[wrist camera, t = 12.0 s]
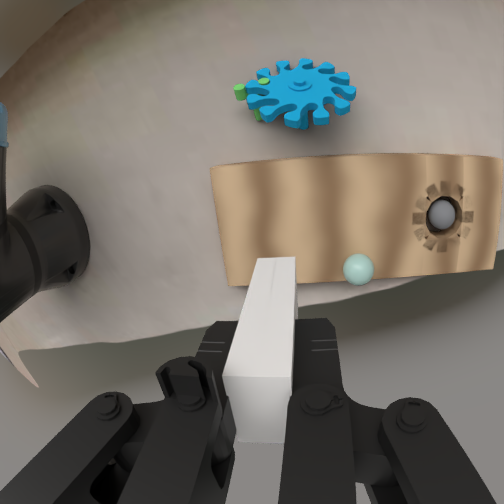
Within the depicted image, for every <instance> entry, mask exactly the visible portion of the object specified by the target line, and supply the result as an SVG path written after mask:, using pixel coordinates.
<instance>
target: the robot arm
mask: <svg viewBox="0 0 504 504" xmlns="http://www.w3.org/2000/svg"><path fill="white" fill-rule="evenodd" d="M7 123H8V113H7V109H6V107H5V106H4V105H3V104H2V103H1V102H0V322H1V321H3V320H4V319H5V318H6V317H7V316H9V315H10V314H11V313H12V312H13V311H15V310H16V309H17V308H18V307H20V306H21V305H22V304H23V303H24V302H26V301H27V300H28V299H29V298H31V297H32V296H33V295H35V294H36V293H37V292H41V291H45V290H49V289H54V288H58V287H62V286H65V285H68V284H70V283H71V282H72V281H74V280H75V279H76V278H78V277H79V276H80V275H81V274H82V273H83V271H84V270H85V268H86V266H87V263H88V259H89V237H88V232H87V228H86V225H85V222H84V219H83V217H82V214H81V213H80V211H79V209H78V207H77V206H76V204H75V203H74V201H73V200H72V199H71V198H70V197H69V196H68V195H67V194H66V193H65V192H64V191H62V190H61V189H59V188H57V187H54V186H50V185H44V186H40V187H37V188H34V189H31V190H29V191H28V192H26V193H25V194H24V195H22V196H21V197H20V198H19V199H18V200H17V201H16V202H15V203H14V204H13V205H12V206H11V207H10V208H9V209H8V210H6V149H7V148H8V142H7ZM156 376H157V378H158V381H159V384H160V386H161V389H162V391H163V394H164V396H165V399H164V400H162V401H158V402H152V403H141V404H132V401H131V399H130V398H129V397H128V396H127V395H125V394H124V393H120V392H106V393H103V394H101V395H98V396H97V397H95V398H94V399H93V400H92V401H90V402H89V403H88V404H87V405H86V406H85V407H84V408H83V409H82V410H81V411H80V412H79V413H78V414H77V415H76V416H75V417H74V418H73V419H72V420H71V421H70V422H69V423H68V424H67V425H66V426H65V427H64V428H63V429H62V430H61V431H60V432H59V433H58V434H57V435H56V436H55V437H54V438H53V439H52V440H51V441H50V442H49V443H48V444H47V445H46V446H45V447H44V448H43V449H42V450H41V451H40V452H39V453H38V454H37V455H36V456H35V457H34V458H33V459H32V460H31V461H30V462H29V463H28V464H27V465H26V466H25V467H24V468H23V469H22V470H21V471H20V472H19V473H18V474H17V475H16V476H15V477H14V478H13V479H12V480H11V481H10V482H9V483H8V484H7V485H6V486H5V487H4V488H3V489H2V490H1V491H0V504H225V501H226V497H227V493H228V488H229V484H230V479H231V475H232V470H233V465H234V461H235V452H234V448H233V444H234V439H235V434H236V435H237V439H238V442H247V443H268V444H284V453H283V464H282V473H281V482H280V491H279V500H278V504H356V486H355V482H358V483H364V486H365V488H366V491H367V494H368V496H369V499H370V501H371V504H496V502H495V500H494V499H493V497H492V495H491V494H490V492H489V490H488V488H487V487H486V485H485V483H484V482H483V481H482V479H481V477H480V475H479V474H478V472H477V470H476V469H475V467H474V466H473V464H472V463H471V461H470V459H469V458H468V456H467V455H466V453H465V451H464V450H463V448H462V447H461V446H460V444H459V442H458V441H457V439H456V437H455V436H454V435H453V433H452V432H451V430H450V429H449V427H448V425H447V424H446V423H445V421H444V420H443V418H442V417H441V415H440V414H439V412H438V411H437V409H436V408H435V407H434V406H432V404H430V403H429V402H427V401H424V400H422V399H419V398H411V397H409V398H404V399H399V400H397V401H395V402H393V403H391V404H390V405H389V406H388V407H387V409H379V408H373V407H368V406H364V405H361V404H358V403H357V402H355V401H353V400H352V399H351V398H350V397H348V395H347V394H346V393H345V391H344V388H343V385H342V377H341V370H340V362H339V354H338V347H337V341H336V333H335V327H334V326H333V325H332V324H331V322H330V321H329V320H328V319H327V318H318V319H298V303H297V278H296V258H295V257H276V258H258V259H257V262H256V265H255V269H254V272H253V275H252V279H251V282H250V285H249V289H248V292H247V295H246V299H245V302H244V305H243V308H242V312H241V315H240V318H239V321H216V322H215V323H214V324H213V325H212V326H211V327H210V328H209V329H207V331H206V333H205V335H204V337H203V340H202V343H201V345H200V347H199V349H198V352H197V354H196V356H195V357H191V356H189V357H179V358H176V359H173V360H170V361H168V362H167V363H165V364H163V365H162V366H161V367H160V368H159V369H158V370H157V371H156Z"/></svg>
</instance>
